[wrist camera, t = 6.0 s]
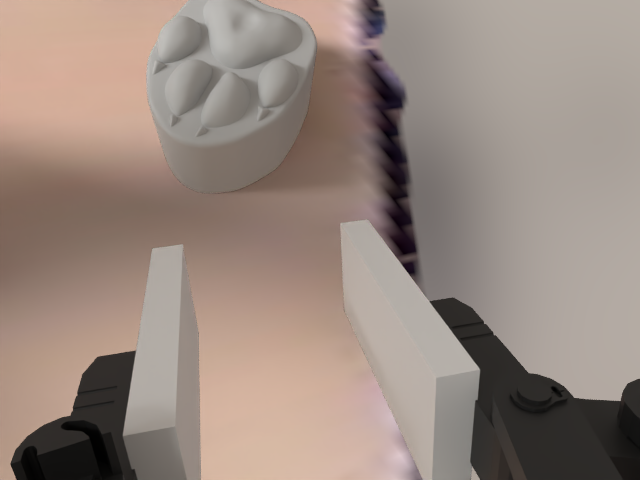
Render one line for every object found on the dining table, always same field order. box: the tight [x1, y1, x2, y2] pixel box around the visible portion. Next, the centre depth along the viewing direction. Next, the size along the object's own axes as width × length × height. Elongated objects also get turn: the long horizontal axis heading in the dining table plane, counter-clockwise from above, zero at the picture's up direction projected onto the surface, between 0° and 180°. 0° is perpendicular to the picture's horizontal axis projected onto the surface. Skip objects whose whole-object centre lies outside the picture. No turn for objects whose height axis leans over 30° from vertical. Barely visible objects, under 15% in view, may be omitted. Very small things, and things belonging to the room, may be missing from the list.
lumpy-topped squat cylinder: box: [146, 0, 317, 194], centre depth 40 cm, size 10×13×9 cm
